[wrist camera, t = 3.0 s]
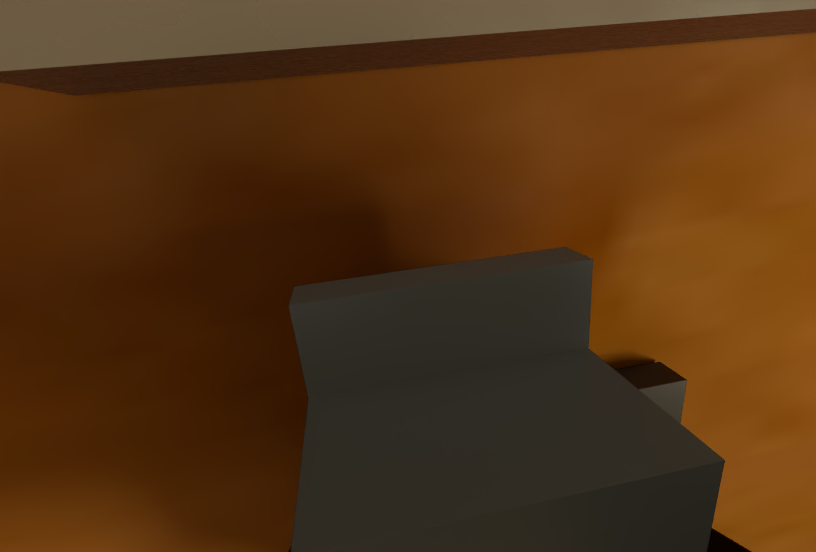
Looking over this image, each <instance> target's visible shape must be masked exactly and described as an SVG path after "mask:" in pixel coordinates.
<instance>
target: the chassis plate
mask: <svg viewBox="0 0 816 552" xmlns="http://www.w3.org/2000/svg"><path fill="white" fill-rule="evenodd" d="M811 32H816V0H0V82H2V83H8V84H13V85H19V86H24V87H30V88H35V89H41V90H46V91H52V92H57V93H63V94H68V95H83V94H95V93H106V92H118V91H130V90H142V89H153V88H165V87H177V86H189V85H200V84H212V83H224V82H235V81H247V80H259V79H271V78H282V77H294V76H306V75H318V74H329V73H341V72H353V71H365V70H376V69H388V68H400V67H412V66H423V65H435V64H447V63H459V62H470V61H482V60H494V59H505V58H517V57H529V56H541V55H552V54H564V53H576V52H588V51H599V50H611V49H623V48H635V47H646V46H658V45H670V44H682V43H693V42H705V41H717V40H729V39H740V38H752V37H764V36H776V35H787V34H799V33H811Z"/></svg>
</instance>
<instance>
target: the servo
mask: <svg viewBox="0 0 816 552" xmlns="http://www.w3.org/2000/svg"><path fill="white" fill-rule="evenodd" d="M592 269H593V259H591V258H589V257H587V256H585V255H582V254H580V253H578V252H576V251H574V250H571V249H569V248H567V247H560V248H554V249H547V250H540V251H533V252H526V253H519V254H513V255H506V256H499V257H492V258H485V259H479V260H472V261H465V262H458V263H451V264H444V265H438V266H431V267H424V268H417V269H410V270H404V271H397V272H390V273H383V274H376V275H369V276H363V277H356V278H349V279H342V280H335V281H328V282H322V283H315V284H308V285H301V286H294V289H293V293H292V296H291V299H290V302H289V310H290V315H291V320H292V324H293V329H294V334H295V338H296V343H297V348H298V352H299V357H300V362H301V366H302V371H303V376H304V380H305V385H306V390H307V394H308V407H307V416H306V424H305V433H304V442H303V450H302V459H301V467H300V476H299V485H298V493H297V502H296V510H295V519H294V528H293V536H292V545H291V552H707V548H708V543H709V538H710V533H711V528H712V523H713V518H714V513H715V508H716V503H717V498H718V492H719V487H720V482H721V477H722V472H723V467H724V462H725V460H724V459H723V458H721V457H720V456H719V455H718V454H717V453H715V452H714V451H713V450H712V449H711V448H709V447H708V446H707V445H706V444H704V443H703V442H702V441H701V440H700V439H698V438H697V437H696V436H695V435H693V434H692V433H691V432H690V431H689V430H687V429H686V428H685V427H684V426H682V425H681V424H680V423H681V416H682V409H683V402H684V395H685V388H686V382H687V380H686V379H685V378H683V377H682V376H680V375H679V374H677V373H676V372H674V371H673V370H671V369H670V368H668V367H667V366H665V365H664V364H662V363H661V362H655V363H650V364H645V365H640V366H634V367H629V368H624V369H619V370H614V369H613V368H612V367H610V366H609V365H608V364H607V363H606V362H604V361H603V360H602V359H601V358H599V357H598V356H597V355H596V354H595V353H593V352H592V351H591V350H590V349H589V348H588V345H589V326H590V307H591V288H592Z"/></svg>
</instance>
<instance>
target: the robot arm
mask: <svg viewBox="0 0 816 552" xmlns="http://www.w3.org/2000/svg"><path fill="white" fill-rule="evenodd" d="M288 552H291V547H290V549H289V551H288ZM707 552H751V551H750V550H748V549H746V548H744V547H743V546H741V545H739V544H738V543H736V542H734V541H733V540H731V539H729V538H728V537H726V536H724V535H723V534H721V533H719V532H718V531H716V530H714V529H713V528H711V533H710V538H709V543H708V548H707Z"/></svg>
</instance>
